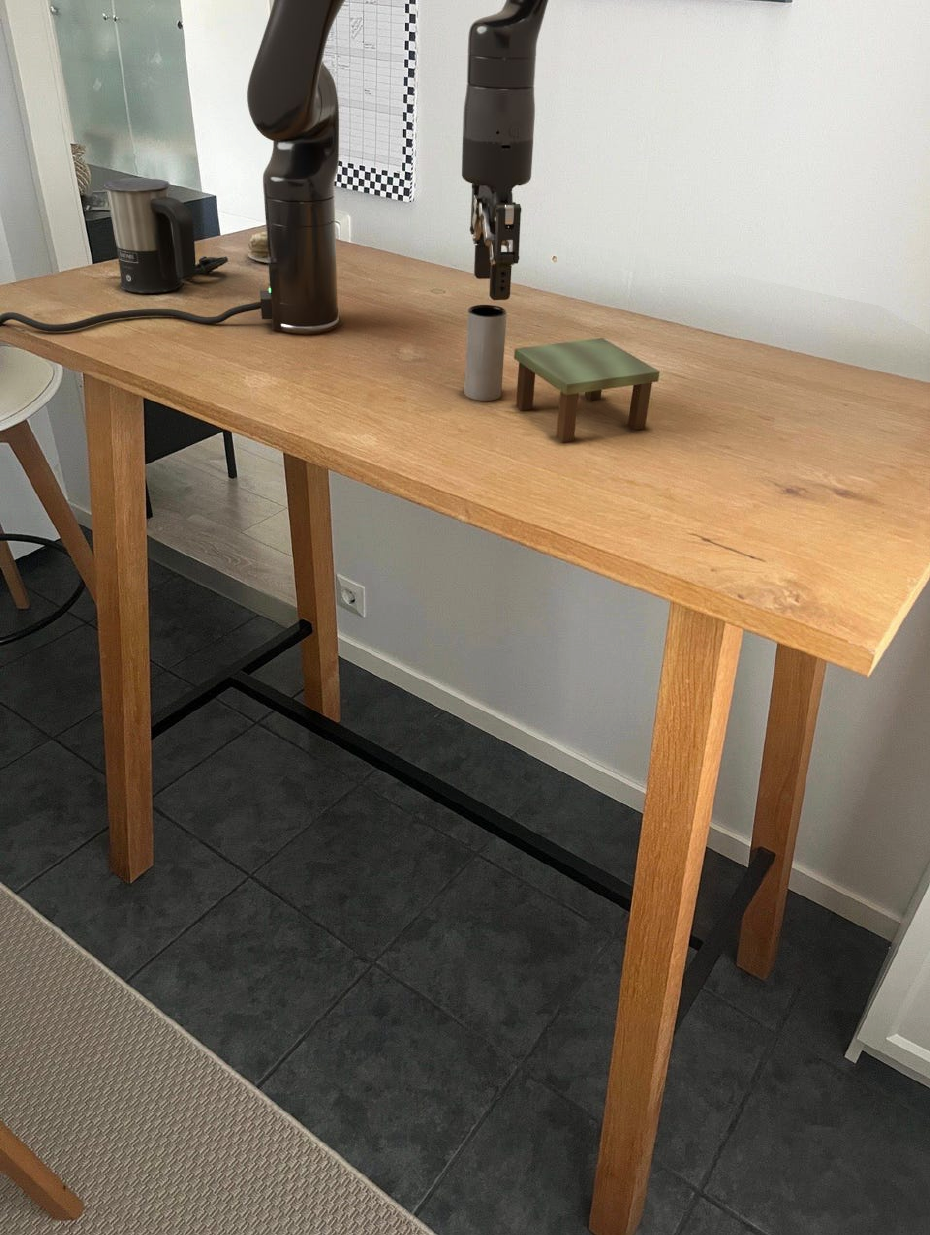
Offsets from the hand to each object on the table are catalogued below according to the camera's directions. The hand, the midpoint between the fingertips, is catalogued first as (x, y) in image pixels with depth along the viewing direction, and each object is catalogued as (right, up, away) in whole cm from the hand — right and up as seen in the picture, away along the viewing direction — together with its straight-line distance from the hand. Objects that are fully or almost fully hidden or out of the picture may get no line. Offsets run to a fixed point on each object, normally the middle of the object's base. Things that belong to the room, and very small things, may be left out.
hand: (491, 288), depth 113 cm
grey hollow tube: (-1, -11, +7) cm, 13 cm away
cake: (-35, +23, +55) cm, 69 cm away
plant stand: (+10, -14, +2) cm, 18 cm away
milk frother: (-48, +14, +41) cm, 65 cm away
